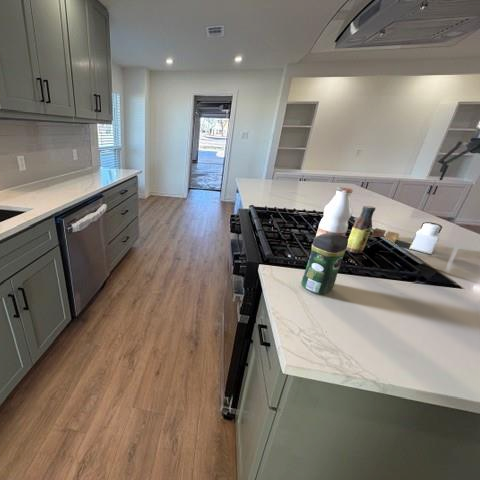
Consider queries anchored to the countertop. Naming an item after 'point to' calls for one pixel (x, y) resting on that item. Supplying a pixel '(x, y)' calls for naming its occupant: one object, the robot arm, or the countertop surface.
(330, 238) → the coffee jar
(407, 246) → the word mat
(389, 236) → the maple letter tile
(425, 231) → the medicine bottle
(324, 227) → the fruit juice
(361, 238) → the sauce bottle
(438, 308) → the countertop surface
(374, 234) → the walnut letter tile
